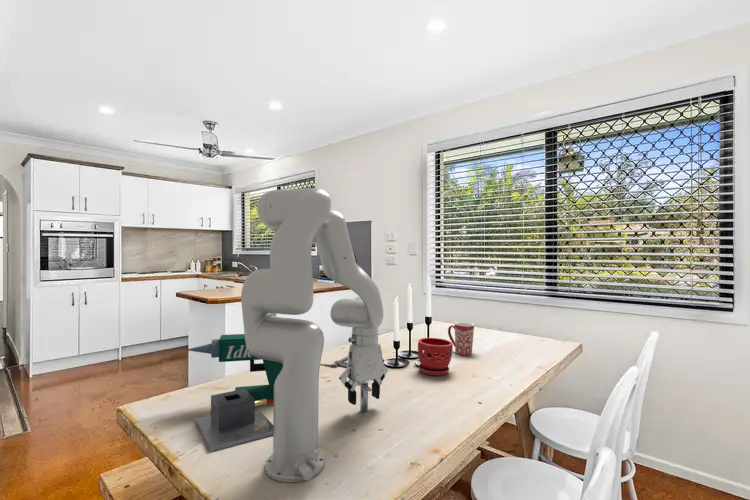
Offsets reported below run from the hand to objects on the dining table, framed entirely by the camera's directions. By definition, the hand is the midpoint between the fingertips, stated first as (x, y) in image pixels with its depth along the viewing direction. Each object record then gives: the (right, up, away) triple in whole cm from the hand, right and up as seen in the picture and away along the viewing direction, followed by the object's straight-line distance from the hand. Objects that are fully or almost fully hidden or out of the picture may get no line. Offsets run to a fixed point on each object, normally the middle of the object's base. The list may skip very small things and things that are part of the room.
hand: (364, 399), depth 114 cm
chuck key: (0, -3, 0) cm, 3 cm away
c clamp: (-7, -3, +48) cm, 49 cm away
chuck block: (-33, -3, -12) cm, 35 cm away
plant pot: (+26, -3, +36) cm, 45 cm away
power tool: (-37, -3, +5) cm, 38 cm away
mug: (+42, -3, +64) cm, 77 cm away
